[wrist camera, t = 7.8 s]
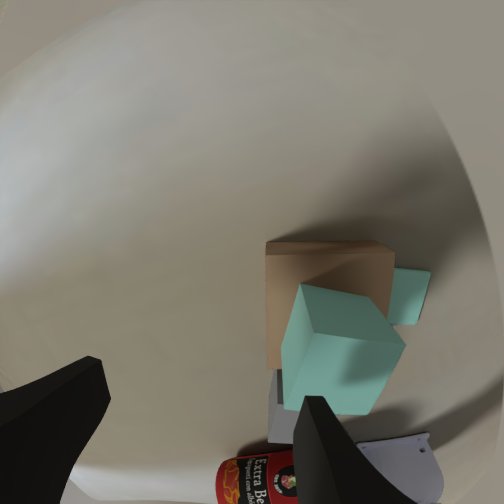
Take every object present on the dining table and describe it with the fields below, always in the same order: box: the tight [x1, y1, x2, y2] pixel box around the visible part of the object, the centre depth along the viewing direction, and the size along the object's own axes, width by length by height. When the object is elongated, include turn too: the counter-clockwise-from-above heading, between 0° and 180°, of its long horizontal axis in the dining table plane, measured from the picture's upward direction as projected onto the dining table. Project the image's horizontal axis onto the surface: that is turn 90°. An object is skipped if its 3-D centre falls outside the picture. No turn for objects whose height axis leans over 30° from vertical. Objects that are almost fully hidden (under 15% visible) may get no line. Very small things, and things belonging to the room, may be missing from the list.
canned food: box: [216, 449, 298, 504], centre depth 18 cm, size 8×8×11 cm
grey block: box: [268, 369, 340, 444], centre depth 17 cm, size 4×4×5 cm
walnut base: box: [265, 241, 396, 369], centre depth 16 cm, size 7×7×4 cm
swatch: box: [387, 267, 431, 325], centre depth 17 cm, size 4×4×1 cm
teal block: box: [281, 284, 406, 415], centre depth 12 cm, size 4×4×5 cm
